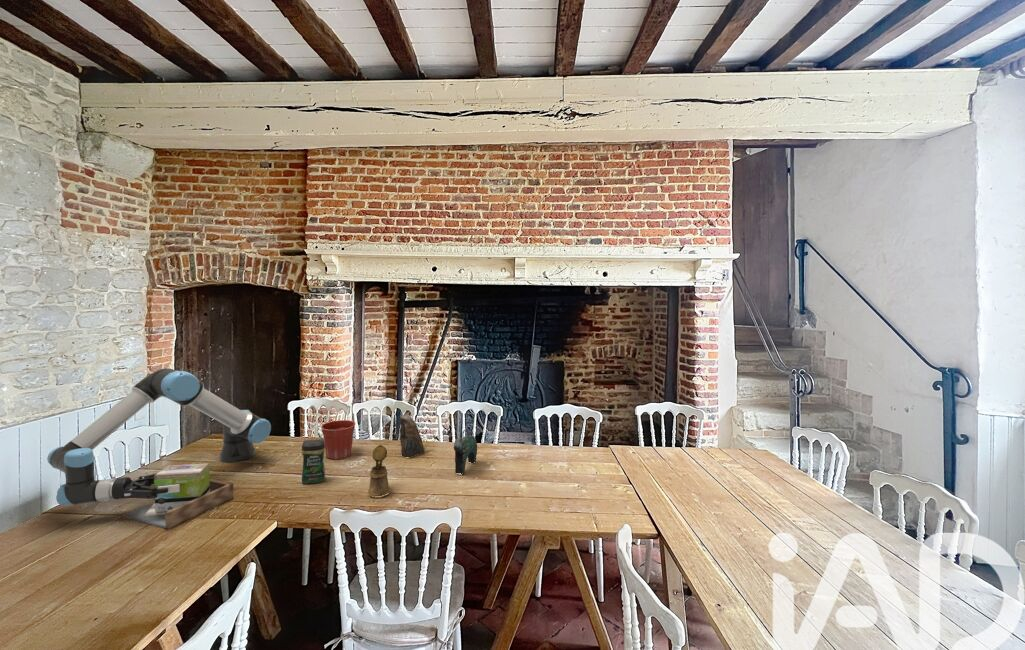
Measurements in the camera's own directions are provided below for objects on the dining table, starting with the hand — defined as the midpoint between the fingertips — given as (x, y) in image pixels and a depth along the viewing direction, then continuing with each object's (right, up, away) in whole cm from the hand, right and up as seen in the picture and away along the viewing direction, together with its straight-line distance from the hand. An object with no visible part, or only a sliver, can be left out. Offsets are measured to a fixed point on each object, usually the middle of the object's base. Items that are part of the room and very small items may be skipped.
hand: (185, 480), depth 171 cm
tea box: (-1, -10, 0) cm, 10 cm away
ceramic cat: (+104, -9, +43) cm, 113 cm away
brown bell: (+70, -11, +18) cm, 73 cm away
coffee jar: (+38, -9, +26) cm, 47 cm away
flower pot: (+38, -7, +56) cm, 68 cm away
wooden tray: (-2, -10, +1) cm, 11 cm away
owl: (+74, -7, +60) cm, 96 cm away
